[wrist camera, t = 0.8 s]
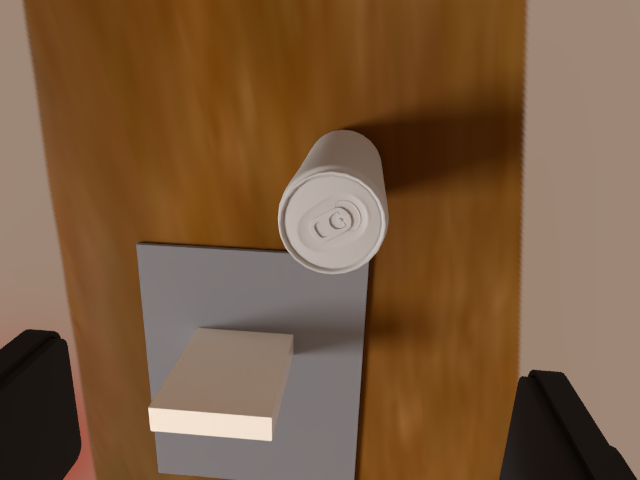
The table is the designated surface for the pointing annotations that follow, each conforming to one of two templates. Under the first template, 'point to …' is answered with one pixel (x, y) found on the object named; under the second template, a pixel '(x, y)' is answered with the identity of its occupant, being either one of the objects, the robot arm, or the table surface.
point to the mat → (270, 317)
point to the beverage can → (335, 205)
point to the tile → (225, 385)
